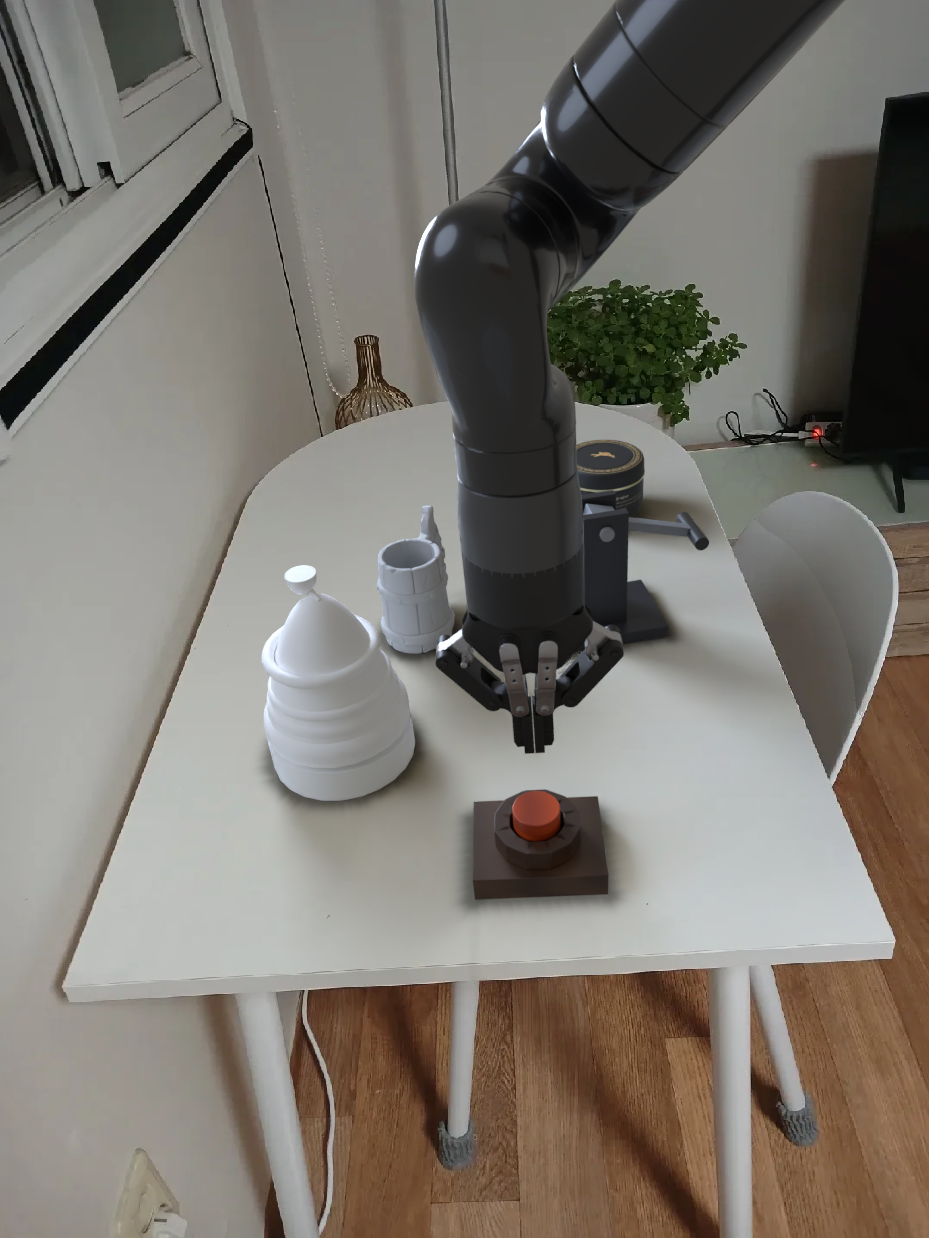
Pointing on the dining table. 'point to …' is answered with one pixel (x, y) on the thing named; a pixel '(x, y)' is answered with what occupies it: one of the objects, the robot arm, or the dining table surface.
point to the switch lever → (661, 526)
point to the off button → (536, 816)
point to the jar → (612, 471)
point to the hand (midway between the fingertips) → (534, 745)
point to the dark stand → (615, 575)
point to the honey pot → (333, 700)
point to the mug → (415, 590)
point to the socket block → (539, 852)
